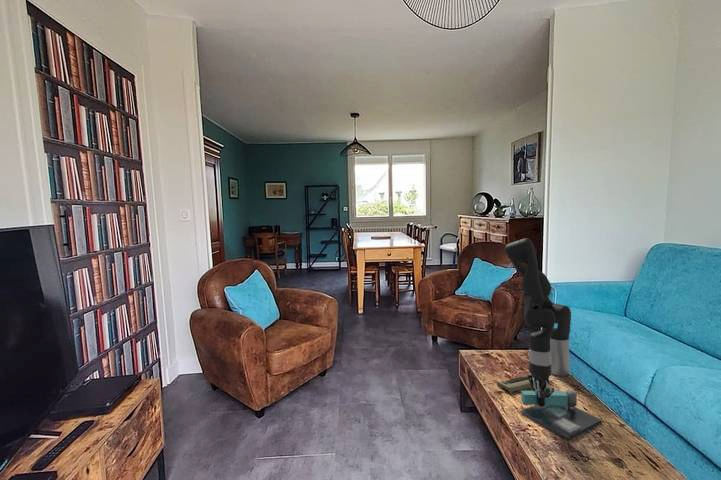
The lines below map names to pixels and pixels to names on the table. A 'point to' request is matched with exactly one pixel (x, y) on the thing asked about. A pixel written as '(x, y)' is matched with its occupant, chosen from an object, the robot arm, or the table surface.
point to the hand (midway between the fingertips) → (540, 405)
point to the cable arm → (551, 398)
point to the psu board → (562, 419)
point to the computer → (515, 384)
